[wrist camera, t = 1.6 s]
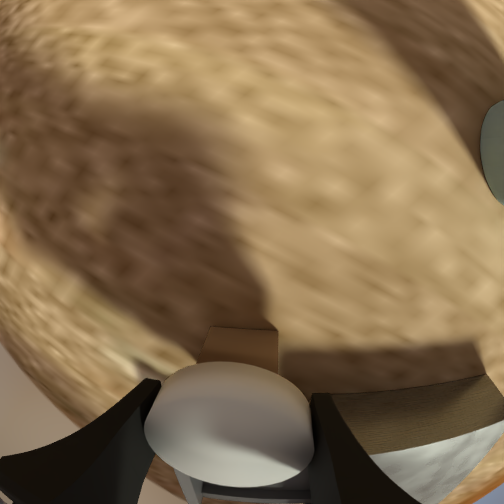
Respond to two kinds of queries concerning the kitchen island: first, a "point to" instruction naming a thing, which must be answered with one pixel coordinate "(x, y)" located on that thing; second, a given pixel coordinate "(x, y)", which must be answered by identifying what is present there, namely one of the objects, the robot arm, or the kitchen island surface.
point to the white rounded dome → (231, 425)
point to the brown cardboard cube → (241, 347)
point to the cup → (494, 149)
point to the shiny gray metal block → (427, 432)
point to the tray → (248, 490)
